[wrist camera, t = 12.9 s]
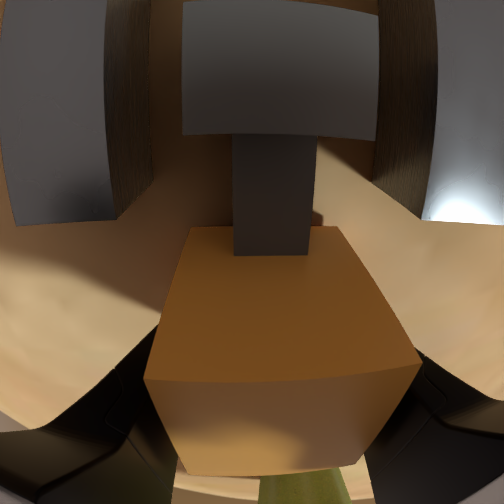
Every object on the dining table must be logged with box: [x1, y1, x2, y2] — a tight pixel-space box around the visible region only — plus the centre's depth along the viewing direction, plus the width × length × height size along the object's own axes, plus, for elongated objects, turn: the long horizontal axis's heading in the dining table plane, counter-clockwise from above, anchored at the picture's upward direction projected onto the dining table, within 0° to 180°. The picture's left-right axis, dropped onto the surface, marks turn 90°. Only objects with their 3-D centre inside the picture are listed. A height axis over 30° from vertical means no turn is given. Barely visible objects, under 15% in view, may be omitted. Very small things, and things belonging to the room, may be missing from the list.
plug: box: [143, 0, 423, 476], centre depth 6 cm, size 4×10×6 cm, turn 179°
